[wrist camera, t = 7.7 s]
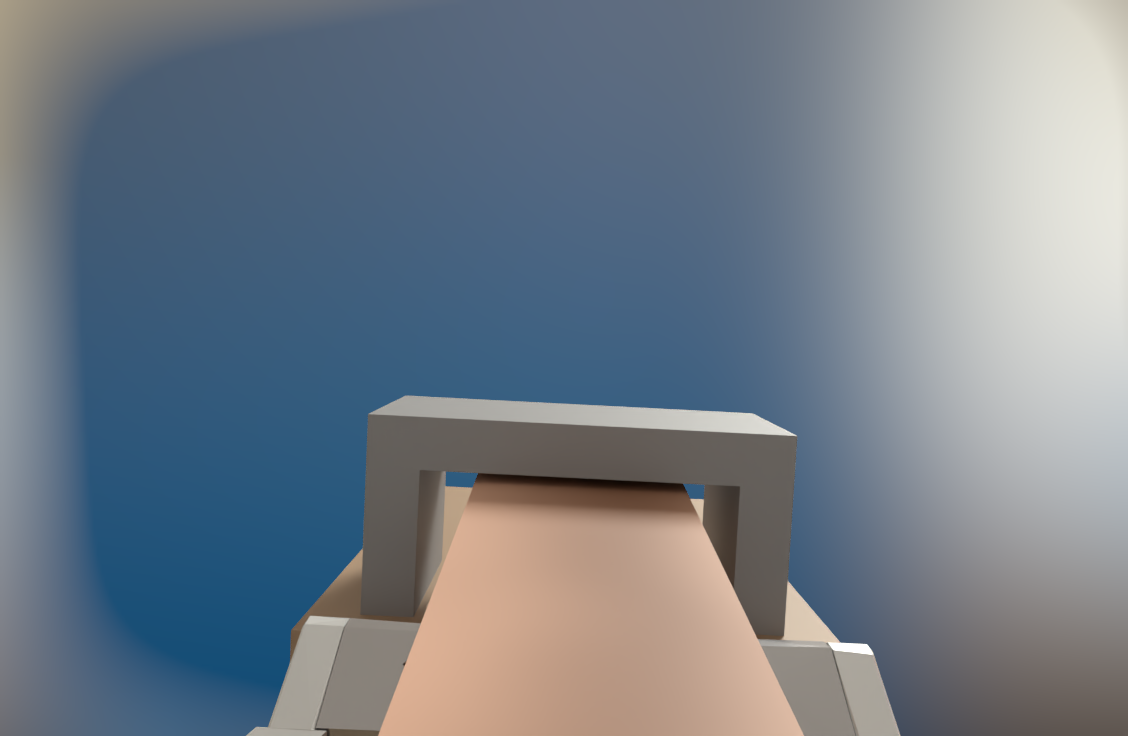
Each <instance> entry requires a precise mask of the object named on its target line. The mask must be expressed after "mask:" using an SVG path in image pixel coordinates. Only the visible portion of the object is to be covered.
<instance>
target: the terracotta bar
mask: <svg viewBox="0 0 1128 736" xmlns="http://www.w3.org/2000/svg"><path fill="white" fill-rule="evenodd" d="M378 736H804V735H803V732H802V730H801V728H800V726H799V724H798V722H797V720H796V718H795V716H794V714H793V712H792V710H791V707H790V705H789V703H788V701H787V699H786V697H785V695H784V693H783V691H782V689H781V687H780V685H779V683H778V680H777V678H776V676H775V674H774V672H773V670H772V668H771V666H770V664H769V662H768V660H767V658H766V656H765V653H764V651H763V649H762V647H761V645H760V643H759V641H758V639H757V637H756V635H755V633H754V631H753V628H752V626H751V624H750V622H749V620H748V618H747V616H746V614H745V612H744V610H743V608H742V606H741V604H740V601H739V599H738V597H737V595H736V593H735V591H734V589H733V587H732V585H731V583H730V581H729V579H728V577H727V574H726V572H725V570H724V568H723V566H722V564H721V562H720V560H719V558H718V556H717V554H716V552H715V550H714V547H713V545H712V543H711V541H710V539H709V537H708V535H707V533H706V531H705V529H704V527H703V525H702V522H701V520H700V518H699V516H698V514H697V512H696V510H695V508H694V506H693V504H692V502H691V500H690V498H689V495H688V493H687V491H686V489H685V487H684V485H683V483H664V482H644V481H624V480H605V479H585V478H565V477H546V476H526V475H507V474H487V473H478V475H477V478H476V481H475V483H474V486H473V488H472V491H471V494H470V496H469V499H468V501H467V504H466V507H465V509H464V512H463V514H462V517H461V520H460V522H459V525H458V528H457V530H456V533H455V535H454V538H453V541H452V543H451V546H450V549H449V551H448V554H447V556H446V559H445V562H444V564H443V567H442V569H441V572H440V575H439V577H438V580H437V583H436V585H435V588H434V590H433V593H432V596H431V598H430V601H429V604H428V606H427V609H426V611H425V614H424V617H423V619H422V622H421V625H420V627H419V630H418V632H417V635H416V638H415V640H414V643H413V645H412V648H411V651H410V653H409V656H408V659H407V661H406V664H405V666H404V669H403V672H402V674H401V677H400V680H399V682H398V685H397V687H396V690H395V693H394V695H393V698H392V700H391V703H390V706H389V708H388V711H387V714H386V716H385V719H384V721H383V724H382V727H381V729H380V732H379V735H378Z"/></svg>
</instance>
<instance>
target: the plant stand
mask: <svg viewBox="0 0 1128 736" xmlns="http://www.w3.org/2000/svg"><path fill="white" fill-rule="evenodd" d="M796 447H797V436H796V435H794V434H792V433H790V432H788V431H786V430H784V429H782V428H780V427H778V426H776V425H774V424H772V423H770V422H768V421H766V420H764V419H762V418H760V417H758V416H757V415H754V414H752V413H732V412H713V411H692V410H675V409H654V408H634V407H615V406H596V405H577V404H576V405H575V404H557V403H537V402H516V401H499V400H478V399H460V398H440V397H421V396H420V397H419V396H404V397H402V398H400V399H398V400H396V401H394V402H392V403H390V404H388V405H386V406H384V407H382V408H380V409H378V410H376V411H374V412H372V413H369V414H368V433H367V458H366V459H367V460H366V485H365V509H364V535H363V549H362V550H361V551H360V552H359V553H358V554H357V556H356V557H355V558H354V559H353V560H352V561H351V562H350V564H349V565H348V566H347V567H346V568H345V569H344V570H343V572H342V573H341V574H340V575H339V576H338V577H337V578H336V580H335V581H334V582H333V583H332V584H331V585H330V587H329V588H328V589H327V590H326V591H325V592H324V593H323V595H322V596H321V597H320V598H319V599H318V600H317V602H316V603H315V604H314V605H313V606H312V607H311V608H310V609H309V611H308V612H307V613H306V614H305V615H304V616H303V617H302V619H301V620H300V621H299V622H298V623H297V624H296V625H295V627H294V628H293V629H292V630H291V655H290V662H291V659H292V656H293V653H294V650H295V647H296V644H297V641H298V639H299V636H300V633H301V630H302V627H303V625H304V624H305V622H306V621H307V620H308V618H309V617H310V616H323V617H338V618H356V619H369V620H382V621H396V622H409V623H421V622H422V619H423V617H424V614H425V611H426V609H427V606H428V604H429V601H430V598H431V596H432V593H433V590H434V588H435V585H436V583H437V580H438V577H439V575H440V572H441V569H442V567H443V564H444V562H445V559H446V556H447V554H448V551H449V549H450V546H451V543H452V541H453V538H454V535H455V533H456V530H457V528H458V525H459V522H460V520H461V517H462V514H463V512H464V509H465V507H466V504H467V501H468V499H469V496H470V494H471V491H472V488H465V487H446V486H445V478H446V471H448V472H467V473H468V472H469V473H487V474H507V475H526V476H546V477H565V478H585V479H605V480H624V481H644V482H664V483H684V484H704V485H705V491H704V500H701V499H690V500H691V502H692V504H693V506H694V508H695V510H696V512H697V514H698V516H699V518H700V520H701V522H702V525H703V527H704V529H705V531H706V533H707V535H708V537H709V539H710V541H711V543H712V545H713V547H714V550H715V552H716V554H717V556H718V558H719V560H720V562H721V564H722V566H723V568H724V570H725V572H726V574H727V577H728V579H729V581H730V583H731V585H732V587H733V589H734V591H735V593H736V595H737V597H738V599H739V601H740V604H741V606H742V608H743V610H744V612H745V614H746V616H747V618H748V620H749V622H750V624H751V626H752V628H753V631H754V633H755V635H756V637H757V639H771V640H798V641H823V642H825V643H827V642H831V643H840V642H839V641H838V639H837V638H836V637H835V636H834V635H833V634H832V632H831V631H830V630H829V629H828V628H827V626H826V625H825V624H824V623H823V622H822V621H821V619H820V618H819V617H818V616H817V615H816V614H815V612H814V611H813V610H812V609H811V608H810V607H809V606H808V604H807V603H806V602H805V601H804V600H803V598H802V597H801V596H800V595H799V594H798V593H797V591H796V590H795V589H794V588H793V587H792V585H791V584H790V583H789V582H788V567H789V552H790V538H791V522H792V507H793V492H794V477H795V462H796Z"/></svg>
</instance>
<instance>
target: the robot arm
mask: <svg viewBox="0 0 1128 736" xmlns="http://www.w3.org/2000/svg"><path fill="white" fill-rule="evenodd" d="M420 625H421V623H409V622H396V621H382V620H369V619H356V618H338V617H323V616H310V617H309V618H308V620H307V621H306V622H305V624H304V625H303V627H302V630H301V633H300V636H299V639H298V641H297V644H296V647H295V650H294V653H293V656H292V659H291V662H290V665H289V668H288V671H287V673H286V677H285V679H284V682H283V685H282V688H281V691H280V694H279V697H278V700H277V703H276V706H275V709H274V711H273V714H272V717H271V720H270V723H269V726H268V727H256V728H255V729H254V730H253V731H251V732H250V733H249V734H248V735H247V736H378V735H379V732H380V729H381V727H382V724H383V721H384V719H385V716H386V714H387V711H388V708H389V706H390V703H391V700H392V698H393V695H394V693H395V690H396V687H397V685H398V682H399V680H400V677H401V674H402V672H403V669H404V666H405V664H406V661H407V659H408V656H409V653H410V651H411V648H412V645H413V643H414V640H415V638H416V635H417V632H418V630H419V627H420ZM758 641H759V643H760V645H761V647H762V649H763V651H764V653H765V656H766V658H767V660H768V662H769V664H770V666H771V668H772V670H773V672H774V674H775V676H776V678H777V680H778V683H779V685H780V687H781V689H782V691H783V693H784V695H785V697H786V699H787V701H788V703H789V705H790V707H791V710H792V712H793V714H794V716H795V718H796V720H797V722H798V724H799V726H800V728H801V730H802V732H803V735H804V736H900V733H899V730H898V727H897V724H896V722H895V718H894V715H893V712H892V709H891V706H890V703H889V700H888V697H887V694H886V691H885V688H884V685H883V682H882V679H881V676H880V673H879V670H878V667H877V663H876V660H875V657H874V655H873V651H872V650H871V649H870V648H869V647H868V645H867V644H850V643H831V642H827V643H825V642H823V641H798V640H771V639H758Z"/></svg>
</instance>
